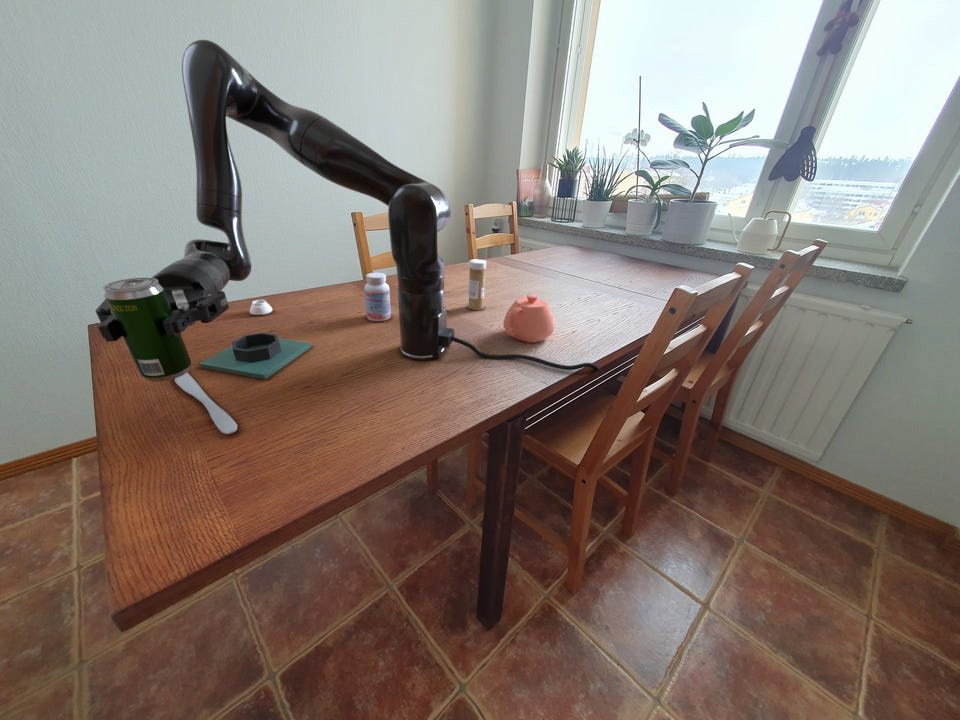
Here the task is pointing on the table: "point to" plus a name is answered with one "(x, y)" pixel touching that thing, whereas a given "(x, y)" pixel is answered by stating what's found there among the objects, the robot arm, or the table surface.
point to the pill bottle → (377, 297)
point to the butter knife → (207, 404)
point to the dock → (256, 367)
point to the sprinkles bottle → (476, 284)
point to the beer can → (147, 328)
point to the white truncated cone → (260, 307)
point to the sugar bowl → (529, 319)
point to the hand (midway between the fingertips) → (138, 331)
